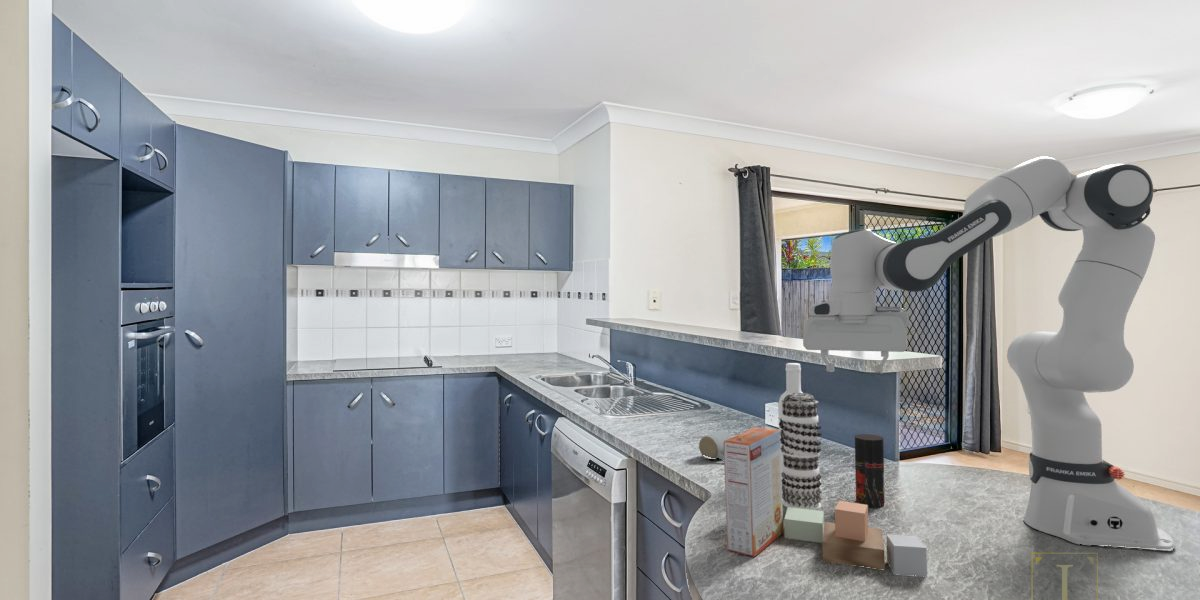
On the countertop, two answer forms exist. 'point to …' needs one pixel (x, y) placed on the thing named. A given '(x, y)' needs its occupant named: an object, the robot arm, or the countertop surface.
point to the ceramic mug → (714, 444)
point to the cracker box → (753, 490)
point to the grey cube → (906, 555)
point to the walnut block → (853, 548)
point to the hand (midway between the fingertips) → (854, 372)
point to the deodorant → (869, 470)
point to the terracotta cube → (851, 520)
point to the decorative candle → (800, 452)
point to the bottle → (790, 391)
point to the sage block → (804, 524)
